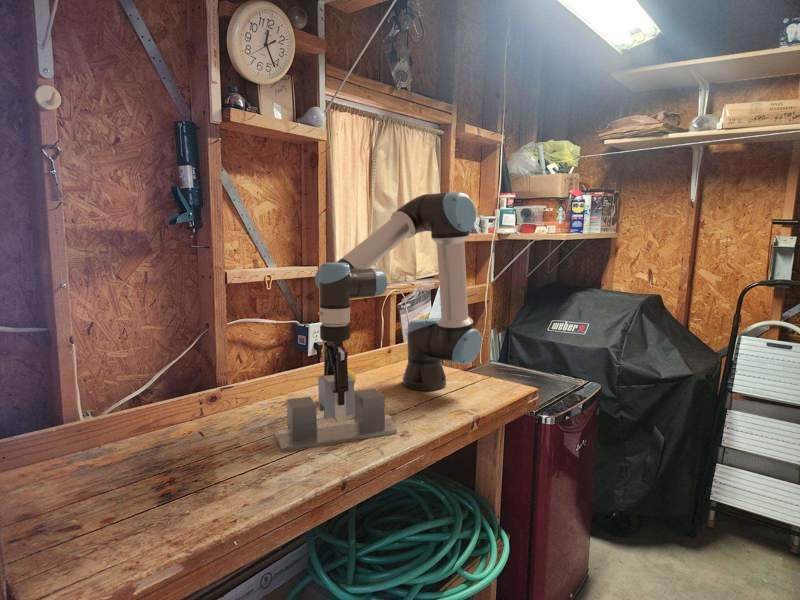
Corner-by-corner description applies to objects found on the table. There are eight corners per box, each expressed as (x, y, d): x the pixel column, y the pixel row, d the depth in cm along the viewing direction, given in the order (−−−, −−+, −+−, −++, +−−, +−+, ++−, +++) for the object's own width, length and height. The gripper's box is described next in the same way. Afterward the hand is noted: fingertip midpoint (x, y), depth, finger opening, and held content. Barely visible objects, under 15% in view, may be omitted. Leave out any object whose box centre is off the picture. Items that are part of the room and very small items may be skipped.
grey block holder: (383, 420, 140) (383, 385, 138) (397, 433, 130) (397, 396, 129) (275, 436, 128) (273, 399, 127) (281, 452, 119) (280, 412, 118)
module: (346, 406, 133) (346, 372, 132) (354, 414, 126) (354, 379, 125) (318, 409, 130) (318, 375, 129) (325, 418, 124) (324, 382, 122)
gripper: (311, 318, 133) (312, 401, 136) (330, 332, 115) (331, 427, 118) (338, 317, 136) (339, 397, 139) (361, 329, 118) (362, 422, 120)
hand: (335, 411), depth 128 cm, fingers closed on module, 7 cm apart
